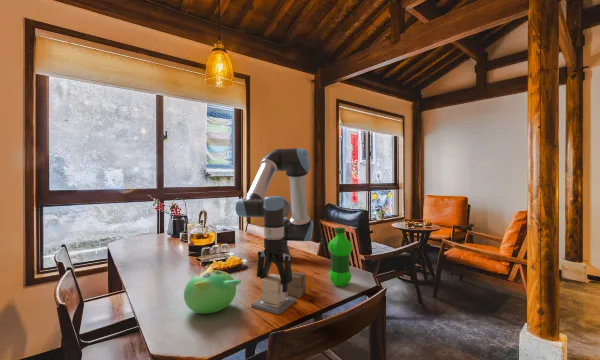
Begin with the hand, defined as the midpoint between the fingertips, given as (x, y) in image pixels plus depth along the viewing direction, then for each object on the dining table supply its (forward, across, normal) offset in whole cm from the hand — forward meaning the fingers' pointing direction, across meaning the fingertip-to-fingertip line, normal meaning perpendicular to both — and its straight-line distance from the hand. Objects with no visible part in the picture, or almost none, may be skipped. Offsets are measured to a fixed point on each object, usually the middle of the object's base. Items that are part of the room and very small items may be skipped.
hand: (274, 298), depth 108 cm
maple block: (0, 0, 0) cm, 0 cm away
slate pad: (+2, 0, 0) cm, 2 cm away
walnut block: (+2, +3, +12) cm, 13 cm away
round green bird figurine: (+2, -17, -15) cm, 23 cm away
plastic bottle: (+2, +15, +30) cm, 34 cm away
